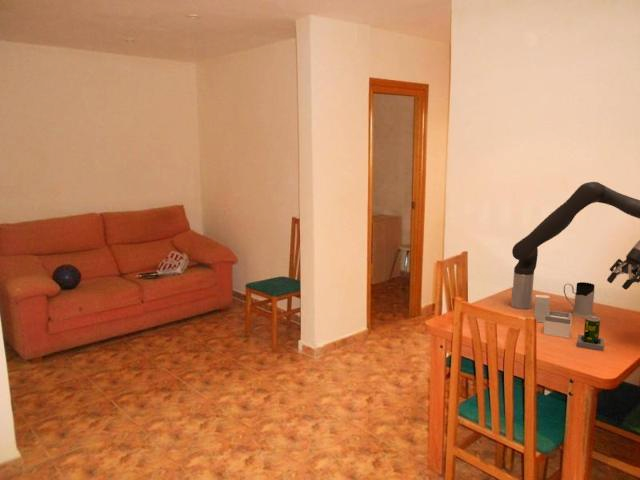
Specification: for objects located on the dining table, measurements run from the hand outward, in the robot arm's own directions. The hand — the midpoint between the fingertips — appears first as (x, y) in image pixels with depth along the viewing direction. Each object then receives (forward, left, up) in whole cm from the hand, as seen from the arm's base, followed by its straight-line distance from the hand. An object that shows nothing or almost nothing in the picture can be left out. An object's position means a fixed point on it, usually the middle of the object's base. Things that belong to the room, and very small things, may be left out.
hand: (616, 285), depth 209 cm
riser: (-20, +3, -24) cm, 32 cm away
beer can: (-7, -6, -25) cm, 27 cm away
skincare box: (-28, +15, -25) cm, 40 cm away
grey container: (-14, +35, -25) cm, 45 cm away
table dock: (-7, -6, -24) cm, 26 cm away
